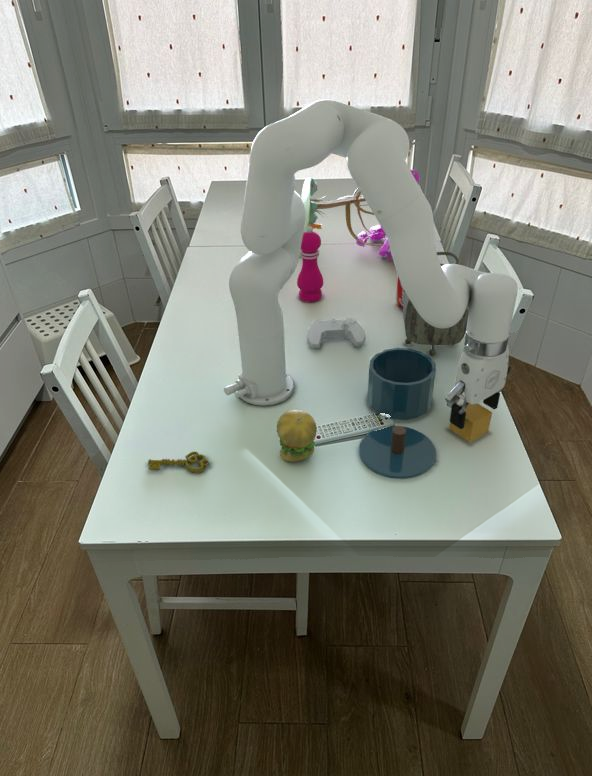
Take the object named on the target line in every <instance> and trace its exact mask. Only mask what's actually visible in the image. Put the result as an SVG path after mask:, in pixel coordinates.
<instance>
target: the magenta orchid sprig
mask: <svg viewBox="0 0 592 776" xmlns="http://www.w3.org/2000/svg"><path fill="white" fill-rule="evenodd" d="M410 171H411V173H412V175H413V176H414V178H415V180H416V182H417V183H418V185H419V186H420V180H421V179H420V177H421V176H420V174H419V172H418V171H416V170H415V169H410ZM317 191H318V183H317V182H316V181H315V179H314V178H313V177H306V178H305V180H304V181H303V185H302V190H301V195H300V197H301V199H302V201H303V203H304V206H305V210H306V221H305V227H304V232H306V228H307V227H308V226H311V227H312V228H313V230H315V229H317V230H322V229H323V228H322V223H316V222H317V220H318V218H319V217H318V215H320V216H322V214H323V215H325V213H324V212H323V211H321V210H326V209H331V208H338V207H342V206H345V220H346V221H345V223H346V227H347V229H348V232H349V233H350V235H351V236H352V238H353V239H354V240H355V243H356V245H357V246H360V247H362V248H365V246H381V247H380V248H379V250H378V252H377V254H378V255H379V256H380V257H381V258H382V259H383V258H388V259H393V257H392V254H391V250H390V246H389V241H388V238H386V237H387V236H386V234H385V232H384V230H383V228H382V227H381V225H380V224H376V225H374V226H371V227H370V229H369V230H368V228H366V226H365V224H364V221H363V218H362V214H361V212H362V213H364V214H368V215H372V216H375V215H374V213H373V212H372V211H369V210H366V209H363V208H362V207H364V206H365V207H367V204H361V203H362V202H366V200H365V198H364V197H363V195H362V193H361V192H360V190H359V188H358V187H357V188H356V189H355V190H354V192H353V194H352V195H344V196H341V197H338V198H337V199H328V200H327V199H325V198H326V197H327V196H328V193H329V192H327V194H326V195H325V196H322V197H318V198H312V197H313V196H314V195H315V194H316V192H317ZM323 199H324V200H323ZM352 204H354V206H355V207H356V210H357V214H358V217H359V220H360V222H361V224H362V227H363V229H365V230H366V231H361V232H360V233H358V234H355V232H354V231H353V227H352V221H351V220H352V219H351V205H352ZM316 213H317V214H318V215H317V214H316ZM322 218H323V219H324V216H322ZM327 218H328V220H329V217H327ZM367 233H369V235H368V234H367ZM385 238H386V239H385ZM369 239H370V241H374V242H377V241H381V240H383V239H385V241H384V242H383V243H371V242H370V243H369V242H368V240H369ZM300 250H301V249H300ZM300 254H301V253H300ZM300 254H299V258H302V257H301V256H300Z"/></svg>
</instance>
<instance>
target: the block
mask: <svg viewBox="0 0 592 776" xmlns="http://www.w3.org/2000/svg"><path fill="white" fill-rule="evenodd" d="M462 404H463V403H461V404H458V405H459V406H461V405H462ZM465 412H466V418H465V424H464V428H463V429H460V428H458V427H457V426H455V425H453V424H452V423H451V422H450V421H449V426H448V429H449V430H450V431H452V432H453V433H455V434H456V435H458V436H460V438H462V439H464V440H465V441H467V442H468V443H471V442H473V441H475V440H477V439H478V438H480V437H481V436H484V435H485V434H487V433H488V432H489V430H490V425H491V420H492V415H493V411H491V410H489V409H488V408H487V407H485V406H483V405H481V404H480V403H477V404H473V405H471V404H470V403H469V404H468V406H467V408H466V409H465Z"/></svg>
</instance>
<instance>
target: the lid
mask: <svg viewBox="0 0 592 776" xmlns="http://www.w3.org/2000/svg"><path fill="white" fill-rule="evenodd" d="M389 426H390V427H387V428H384V429H381V430H377V431H373V430H371V431H370V432H368V433H366V434H365V435H364V436H363V437H362V439H361V441H360V442H359V446H358V453H359V457H360V460H361V462H362V463H363V464H364V465H365V466H366V467H367V468H368V469H369V470H370V471H372V472H374V473H375V474H378V475H380V476H383V477H385V478H391V479H400V480H401V479H410V478H411V479H412V478H415V477H418V476H420V475H423V474H425V473H426V472H427V471H429V470H430V469H431V467H432V466H433V465H434V463H435V461H436V456H437V452H436V447H435V445H434V443H433V442H432V440H431V439H430V438H429V437H428V436H427V435H426V434H424V433H423V432H421V431H419V430H417V429H414V428H411V427H407V426H402V425H389Z"/></svg>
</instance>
